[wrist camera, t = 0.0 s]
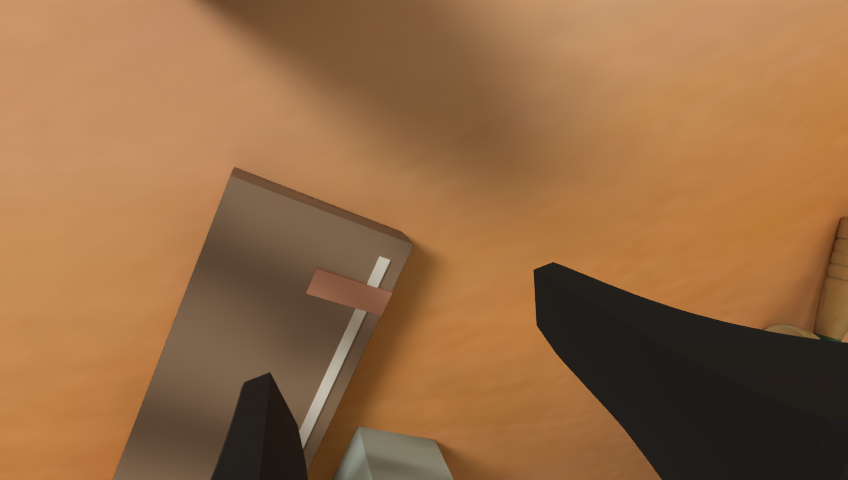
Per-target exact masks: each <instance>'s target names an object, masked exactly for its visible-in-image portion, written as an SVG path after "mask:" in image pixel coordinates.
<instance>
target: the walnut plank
mask: <svg viewBox="0 0 848 480" xmlns="http://www.w3.org/2000/svg"><path fill="white" fill-rule="evenodd" d="M412 247H413V244H412V243H411V241H410V240H409V239H408V238H407V237H406V236H405V235H404V234H403V233H402V232H401V231H398V230H395V229H393V228H390V227H388V226H385V225H382V224H380V223H377V222H375V221H372V220H370V219H367V218H364V217H362V216H359V215H357V214H354V213H351V212H349V211H346V210H344V209H341V208H339V207H336V206H333V205H331V204H328V203H326V202H323V201H320V200H318V199H315V198H313V197H310V196H308V195H305V194H302V193H300V192H297V191H295V190H292V189H289V188H287V187H284V186H282V185H279V184H277V183H274V182H271V181H269V180H266V179H264V178H261V177H258V176H256V175H253V174H251V173H248V172H246V171H243V170H240V169H238V168H235V167H234V168H233V171H232V174H231V176H230V179H229V181H228V184H227V186H226V189H225V192H224V194H223V197H222V199H221V202H220V204H219V207H218V210H217V212H216V215H215V217H214V220H213V222H212V225H211V228H210V230H209V233H208V235H207V238H206V241H205V243H204V246H203V248H202V251H201V253H200V256H199V259H198V261H197V264H196V266H195V269H194V272H193V274H192V277H191V279H190V282H189V284H188V287H187V290H186V292H185V295H184V297H183V300H182V302H181V305H180V308H179V310H178V313H177V315H176V318H175V321H174V323H173V326H172V328H171V331H170V333H169V336H168V339H167V341H166V344H165V346H164V349H163V351H162V354H161V357H160V359H159V362H158V364H157V367H156V370H155V372H154V375H153V377H152V380H151V382H150V385H149V388H148V390H147V393H146V395H145V398H144V401H143V403H142V406H141V408H140V411H139V413H138V416H137V419H136V421H135V424H134V426H133V429H132V431H131V434H130V437H129V439H128V442H127V444H126V447H125V450H124V452H123V455H122V457H121V460H120V462H119V465H118V468H117V470H116V473H115V475H114V478H113V480H210V479H211V477H212V474H213V472H214V469H215V467H216V464H217V461H218V458H219V456H220V453H221V450H222V447H223V445H224V442H225V439H226V436H227V433H228V430H229V427H230V424H231V421H232V418H233V415H234V412H235V408H236V405H237V402H238V398H239V395H240V391H241V388H242V386H243V384H244V382H246V381H248V380H251V379H254V378H256V377H259V376H261V375H264V374H266V373H269V372H270V373H271V375H272V376H273V378H274V380H275V382H276V384H277V386H278V388H279V390H280V392H281V394H282V396H283V398H284V400H285V402H286V403H287V405H288V407H289V409H290V411H291V413H292V415H293V417H294V419H295V421H296V423H297V425H298V429H299V433H300V438H301V442H302V447H303V452H304V456H305V461H306V467H307V471H308V469H309V467H310V465H311V463H312V460H313V458H314V456H315V454H316V452H317V450H318V448H319V446H320V443H321V441H322V439H323V437H324V435H325V433H326V431H327V429H328V426H329V424H330V422H331V420H332V418H333V416H334V414H335V411H336V409H337V407H338V405H339V403H340V401H341V399H342V397H343V394H344V392H345V390H346V388H347V386H348V384H349V382H350V380H351V377H352V375H353V373H354V371H355V369H356V367H357V365H358V363H359V360H360V358H361V356H362V354H363V352H364V350H365V348H366V345H367V343H368V341H369V339H370V337H371V335H372V333H373V331H374V328H375V326H376V324H377V322H378V320H379V318H380V316H382V314H383V312H384V310H385V308H386V306H387V304H388V301H389V299H390V297H391V295H392V290H393V288H394V286H395V284H396V282H397V279H398V277H399V275H400V273H401V271H402V269H403V267H404V265H405V262H406V260H407V258H408V256H409V254H410V252H411V250H412Z"/></svg>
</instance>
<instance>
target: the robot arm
mask: <svg viewBox="0 0 848 480" xmlns="http://www.w3.org/2000/svg"><path fill="white" fill-rule="evenodd" d="M534 285H535V303H536V321H537V326H538V328H539V329H540V331H541V332H542V334H543V335H544V337H545V338H546V340H547V341H548V343H549V344H550V345H551V347H552V348H553V349H554V351H555V352H556V354H557V355H558V356H559V357H560V358H561V359H562V361H563V362H564V363H565V364H566V365H567V366H568V367H569V368H570V370H571V371H572V372H573V373H574V374H575V375H576V376H577V377H578V378H579V379H580V381H581V382H582V383H583V384H584V385H585V386H586V387H587V388H588V389H589V390H590V391H591V393H592V394H593V395H594V396H595V397H596V398H597V399H598V400H599V401H600V402H601V403H602V405H603V406H604V407H605V408H606V409H607V410H608V411H609V412H610V413H611V414H612V415H613V416H614V418H615V419H616V420H617V421H618V422H619V424H620V425H621V426H622V427H623V428H624V429H625V431H626V432H627V433H628V434H629V436H630V437H631V438H632V440H633V441H634V442H635V444H636V445H637V446H638V448H639V449H640V450H641V452H642V453H643V454H644V456H645V457H646V458H647V460H648V461H649V462H650V464H651V465H652V466H653V468H654V469H655V471H656V472H657V473H658V475H659V476H660V478H661V479H662V480H848V343H844V342H836V341H828V340H821V339H814V338H807V337H800V336H793V335H788V334H782V333H776V332H770V331H765V330H760V329H755V328H750V327H746V326H741V325H736V324H732V323H727V322H723V321H719V320H715V319H712V318H708V317H704V316H700V315H697V314H693V313H689V312H686V311H683V310H679V309H676V308H673V307H670V306H667V305H664V304H661V303H658V302H655V301H652V300H649V299H646V298H643V297H640V296H638V295H635V294H632V293H630V292H627V291H624V290H622V289H619V288H617V287H614V286H611V285H609V284H606V283H604V282H601V281H599V280H597V279H594V278H592V277H589V276H587V275H584V274H582V273H579V272H577V271H575V270H572V269H570V268H567V267H565V266H562V265H559V264H557V263H554V262H552V263H550V264H547V265H545V266H542V267H540V268H537V269H534ZM210 480H308V477H307V467H306V461H305V456H304V452H303V447H302V442H301V438H300V433H299V429H298V425H297V423H296V421H295V419H294V417H293V415H292V413H291V411H290V409H289V407H288V405H287V403H286V402H285V400H284V398H283V396H282V394H281V392H280V390H279V388H278V386H277V384H276V382H275V380H274V378H273V376H272V375H271V373H270V372H269V373H266V374H264V375H261V376H259V377H256V378H254V379H251V380H248V381H246V382H244V384H243V386H242V388H241V391H240V395H239V398H238V402H237V405H236V408H235V412H234V415H233V418H232V421H231V424H230V427H229V430H228V433H227V436H226V439H225V442H224V445H223V447H222V450H221V453H220V456H219V458H218V461H217V464H216V467H215V469H214V472H213V474H212V477H211V479H210Z"/></svg>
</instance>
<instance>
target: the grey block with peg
mask: <svg viewBox="0 0 848 480" xmlns="http://www.w3.org/2000/svg"><path fill="white" fill-rule="evenodd" d="M333 480H453V477H452V475H451V473H450V471H449V469H448V467H447V465H446V463H445V461H444V458H443V456H442V454H441V452H440V450H439V448H438V446H437V444H436V442H435V440H432V439H427V438H421V437H416V436H410V435H404V434H399V433H393V432H387V431H382V430H376V429H371V428H365V427H359V426H358V428H357V430H356V432H355V434H354V436H353V438H352V440H351V442H350V444H349V446H348V448H347V451H346V453H345V455H344V457H343V459H342V461H341V463H340V465H339V467H338V469H337V471H336V473H335V475H334V477H333Z"/></svg>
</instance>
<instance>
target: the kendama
mask: <svg viewBox="0 0 848 480" xmlns="http://www.w3.org/2000/svg"><path fill="white" fill-rule="evenodd" d="M836 238H837V240H836V241H835V244H834V248H833V253H832V255H831V259H830V265H829V266H828V270H827V273H826V276H827V277H826V278H825V280H824V283H823V287H822V291H821V295H820V299H819V303H818V308H817V313H816V319H815V325H814V332H813V333H812V332H810V331H809V330H807V329H804V328H801V327H796V326H792V325H786V324H776V325H772V326H769V327H767V328H765V329H764V330H765V331H770V332H776V333H782V334H788V335H793V336H800V337H807V338H814V339H821V340H828V341H836V342H841V340H842V339H843V337H844V335H845V334H846V332H847V331H848V217H843V218H841V220H840V223H839V227H838V232H837V236H836Z"/></svg>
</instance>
